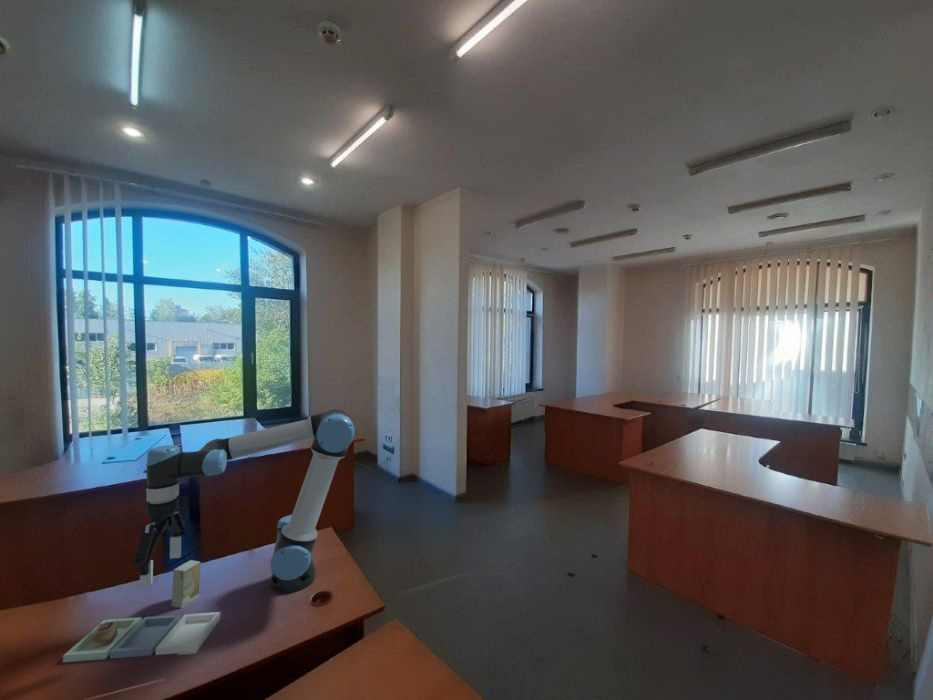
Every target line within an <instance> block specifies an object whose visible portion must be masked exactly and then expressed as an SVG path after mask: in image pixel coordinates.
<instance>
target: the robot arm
mask: <svg viewBox="0 0 933 700" xmlns="http://www.w3.org/2000/svg"><path fill="white" fill-rule="evenodd" d="M355 433H356V432H355V426H354V423H353V420H352V419H351V417H350V415H349V414H348V413H347V412H346V411H344V410H341V409H336V408H335V409H329V410H326V411H323V412H320V413H317V414H311V415H309V416H308V417H307V419H302V420H299V421H294V422H290V423H286V424H281V425H277V426H273V427H268V428H265V429H264V428H263V429H260V430H256V431H251V432H248V433H243V434H239V435H234V436H231V437H226V438H215V439H212V440H209V441H208V442H206V444H205V445H204V446H203V447H202V448H200V449H199V450H197V451H194V450H193V451H181V450H180V446H178V445H176V444H175V445H173V444H169V445H161V446H160V445H159V446H155V447H154V448H153V447H152V448H151V449H149V450H148V451H147V457H146V465H145V466H146V489H145V492H146V503H145V516H146V517H149V518H150V522H149V524H144V525H143V526H142V527H141V536H140V539H139V542H138V547H137V549H136V550H137V551H136V553H135V557H134V560H133V565H134V566H137V565H138V566H139V587H141V586H151V585H152V584H153V583H154V581H153V580H154V560H153V555H154V552H155V550H156V548H157V545H158V542H159V540H160V538H161V537H163V535H164V532H165V531H166V530H167V532H169V534H171V536H170V538H169V559H179V558H181V556H182V536H184V535H185V534H186V529H187V526H186V524H185V521H184V517H183V515H182V512H181V506H180V505H179V502H180V501H179V500H180V497H178V496H179V495H180V479H184V478H192V477H193V478H194V477H206V476H207V477H210V476H211V477H212V476H215V475H221V474H223V473H224V472H225V470H226V468H227V462H229V461H232V460H234V459H239V458H242V457H247V456H250V455H254V454H259V453H261V452H263V453H264V452H266V451H270V450H274V449H278V448H282V447H287V446H290V445H295V444H299V443H302V442H306V441H312V443H311V447H310V450H311V452H312V454H313V455H312V457H311V461H310V463H309V466H308V469H307V472H306V475H305V477H304V480H303V482H302V486H301V489H300V491H299V495H298V497H297V500H296V503H295V506H294V508H293V511H292V514H289V515H286V516H284V517H283V516H282V517H281V518H280V519H279V520H278V522H277V526H276V529H277V531H276V532H277V534H276V540H275V545H274V549H273V552H272V555H271V556H272V557H271V558H270V570H271V572H272V573H271V577H270V581H269V583H270V585H269V586H270V588H271V590H273V592H276V593H280V594H281V593H282V594H286V593H288V594H289V593H294V592H299V591H300V590H303V589H305V588H307V587H308V586H310V585H311V584H312V583H314V581H313V580H315V579H316V577H317V568H316V566H315V562H314V559H313V556H312V553H313V551H314V550H313V549H314V547H315V545H316V544H315V543H316V541H317V539H318V530H317V529H316V527H317V524H318V522H319V518H320V516H321V513H322V509H323V507H324V504H325V501H326V498H327V496H328V492H329V491H330V486H331V484H332V481H333V478H334V476H335V472H336V470H337V466H338V464H339V461H340V460H342V459H344V458H345V457H346V455H347V452H348V449H349V447H350V446H351V444H352V442H353V440H354V437H355ZM315 576H316V577H315Z"/></svg>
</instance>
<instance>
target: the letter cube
mask: <svg viewBox="0 0 933 700" xmlns="http://www.w3.org/2000/svg"><path fill="white" fill-rule="evenodd" d="M99 624H100V623H99ZM99 624H98V625H99ZM98 625H97V626H98ZM97 626H96V627H97ZM117 629H118V621H114V622H109V623H104V624H100V625H99V626H98V627H97V629H96V630H95V631H94V633H93V634H92V649H93V648H98V647H102V646H107V645H110V644H111V643H112V642H113V640H114V639H115V637H116V636H117Z"/></svg>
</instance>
